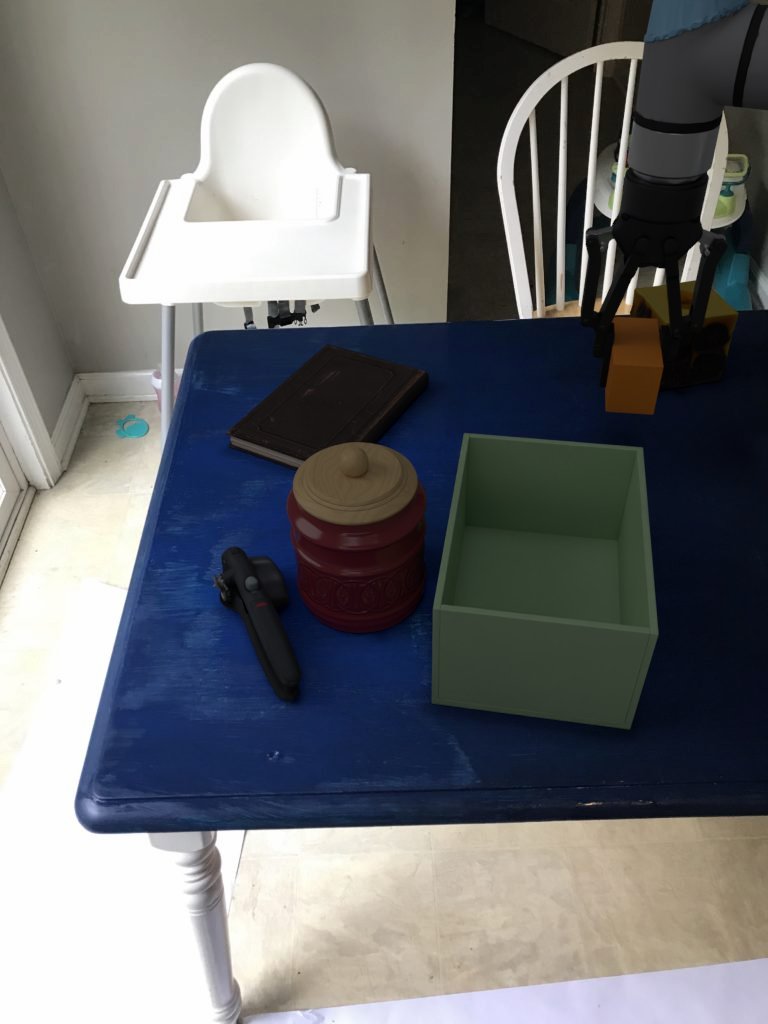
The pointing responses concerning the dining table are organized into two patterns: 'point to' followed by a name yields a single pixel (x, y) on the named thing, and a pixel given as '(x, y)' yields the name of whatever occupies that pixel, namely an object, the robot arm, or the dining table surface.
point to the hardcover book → (327, 406)
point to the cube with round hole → (690, 334)
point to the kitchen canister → (358, 536)
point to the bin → (546, 582)
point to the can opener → (261, 615)
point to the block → (634, 366)
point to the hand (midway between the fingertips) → (628, 381)
